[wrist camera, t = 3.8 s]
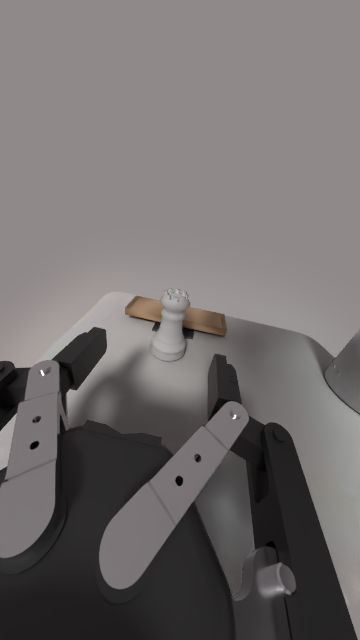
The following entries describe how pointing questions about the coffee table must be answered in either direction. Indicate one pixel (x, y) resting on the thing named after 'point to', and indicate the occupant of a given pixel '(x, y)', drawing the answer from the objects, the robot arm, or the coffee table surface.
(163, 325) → the rook chess piece
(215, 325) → the beam
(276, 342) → the coffee table surface
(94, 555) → the robot arm
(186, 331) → the fulcrum
